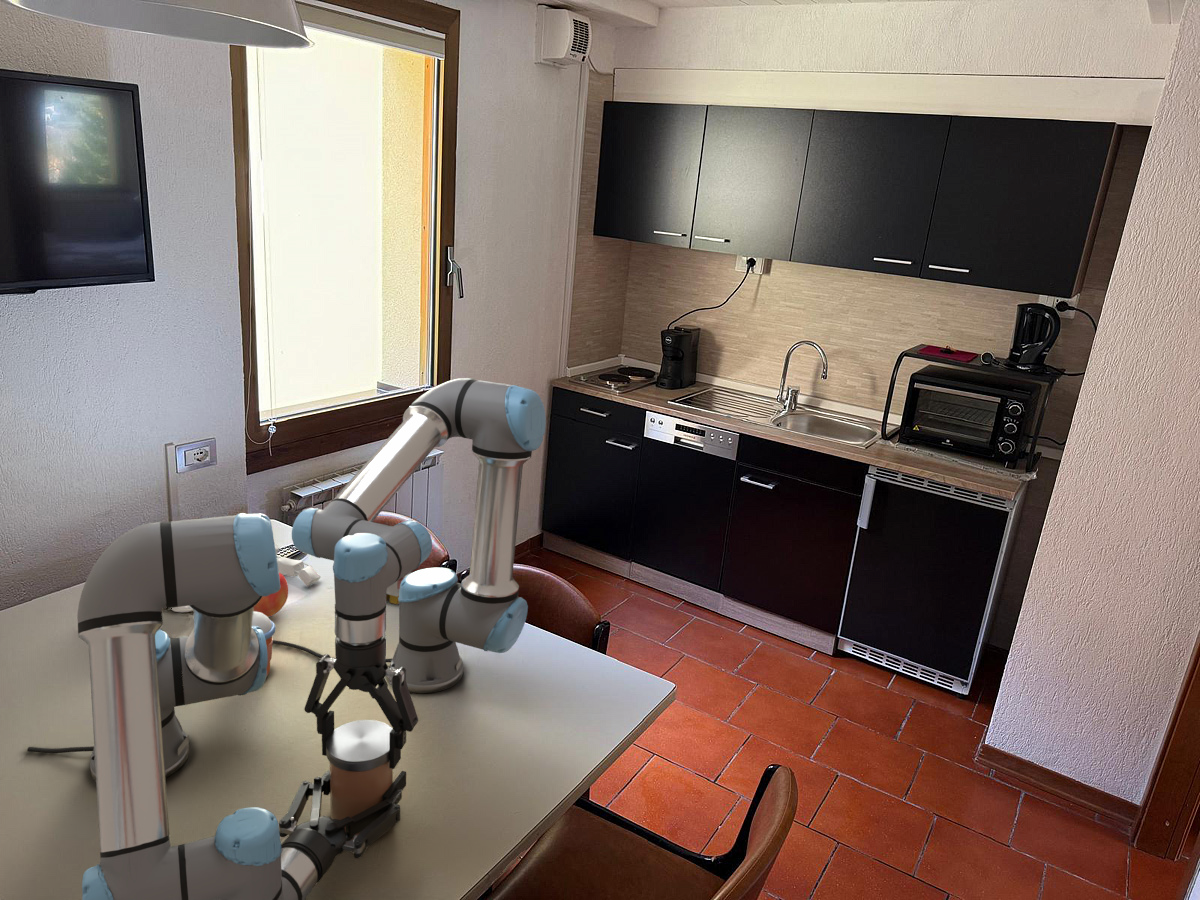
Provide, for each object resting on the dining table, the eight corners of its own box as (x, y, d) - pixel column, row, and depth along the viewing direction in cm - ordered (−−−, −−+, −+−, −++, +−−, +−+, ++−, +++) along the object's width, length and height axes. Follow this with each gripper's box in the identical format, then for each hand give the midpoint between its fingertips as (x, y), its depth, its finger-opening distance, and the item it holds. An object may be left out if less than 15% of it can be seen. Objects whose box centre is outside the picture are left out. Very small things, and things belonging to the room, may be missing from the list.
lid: (332, 729, 140) (332, 719, 140) (399, 728, 142) (399, 719, 141) (320, 772, 130) (320, 762, 130) (392, 771, 132) (392, 761, 131)
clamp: (253, 565, 223) (254, 542, 221) (265, 560, 226) (266, 537, 224) (309, 593, 215) (310, 569, 213) (320, 588, 218) (321, 564, 216)
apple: (273, 600, 207) (272, 562, 204) (297, 613, 202) (296, 575, 199) (237, 614, 200) (234, 575, 197) (261, 628, 194) (259, 588, 191)
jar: (402, 807, 144) (403, 731, 139) (375, 848, 135) (375, 768, 130) (349, 794, 146) (348, 719, 141) (318, 834, 136) (317, 755, 132)
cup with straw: (261, 689, 172) (257, 609, 167) (220, 681, 174) (215, 601, 168) (285, 666, 181) (283, 589, 175) (246, 658, 182) (243, 582, 177)
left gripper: (229, 868, 125) (315, 773, 146) (368, 909, 120) (436, 805, 141) (227, 826, 123) (314, 736, 144) (367, 866, 118) (437, 767, 139)
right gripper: (442, 634, 132) (439, 755, 138) (302, 611, 135) (306, 730, 142) (423, 659, 125) (421, 785, 131) (277, 633, 128) (282, 758, 135)
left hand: (375, 770), depth 142 cm, fingers closed on jar, 10 cm apart
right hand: (361, 756), depth 136 cm, fingers closed on lid, 11 cm apart
